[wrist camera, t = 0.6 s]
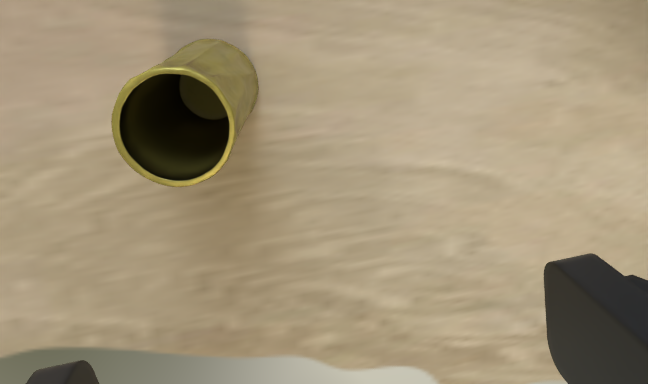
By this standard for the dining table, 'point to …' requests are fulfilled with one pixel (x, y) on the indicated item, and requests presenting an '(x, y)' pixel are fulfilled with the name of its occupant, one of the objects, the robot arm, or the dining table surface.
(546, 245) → the dining table surface
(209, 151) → the vase
